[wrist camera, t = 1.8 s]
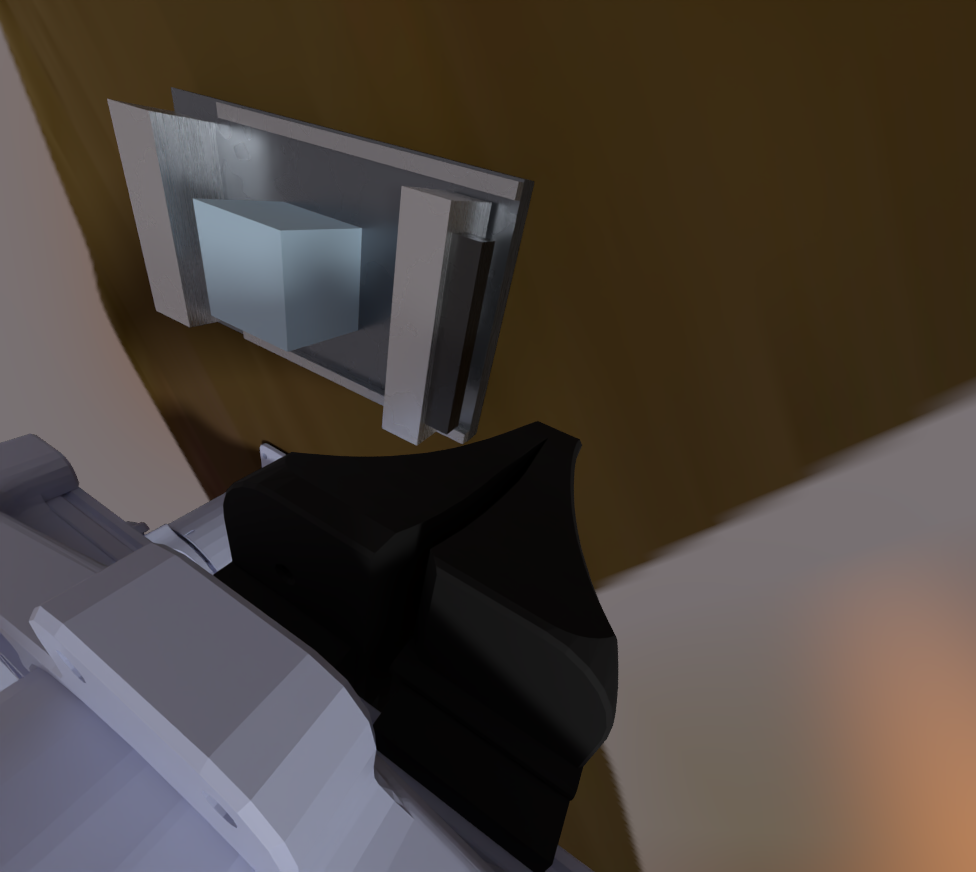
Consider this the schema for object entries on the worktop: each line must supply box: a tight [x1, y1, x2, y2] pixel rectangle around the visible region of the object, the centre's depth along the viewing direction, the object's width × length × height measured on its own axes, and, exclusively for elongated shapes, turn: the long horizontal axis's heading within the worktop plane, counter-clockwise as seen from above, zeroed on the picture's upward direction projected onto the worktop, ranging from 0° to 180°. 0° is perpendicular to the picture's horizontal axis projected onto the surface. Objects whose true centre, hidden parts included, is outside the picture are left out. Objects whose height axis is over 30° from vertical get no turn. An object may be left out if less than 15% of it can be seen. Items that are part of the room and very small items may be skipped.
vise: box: [107, 87, 534, 444], centre depth 21 cm, size 12×20×4 cm, turn 77°
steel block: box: [193, 198, 362, 352], centre depth 20 cm, size 5×5×4 cm
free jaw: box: [382, 186, 495, 445], centre depth 18 cm, size 10×3×3 cm, turn 167°
